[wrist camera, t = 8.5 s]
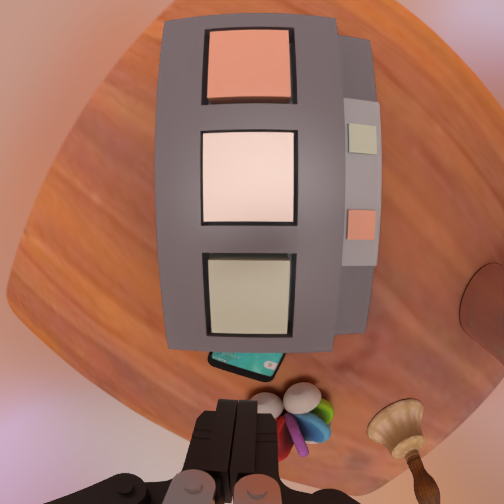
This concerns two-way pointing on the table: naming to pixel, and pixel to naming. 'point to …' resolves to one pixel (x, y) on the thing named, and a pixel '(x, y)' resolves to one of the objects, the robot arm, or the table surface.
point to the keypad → (305, 183)
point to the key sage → (249, 292)
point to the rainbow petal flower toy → (298, 417)
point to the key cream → (248, 176)
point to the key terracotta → (249, 67)
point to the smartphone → (248, 364)
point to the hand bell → (405, 443)
